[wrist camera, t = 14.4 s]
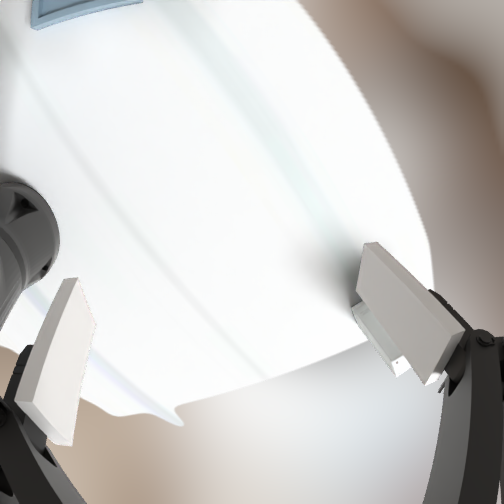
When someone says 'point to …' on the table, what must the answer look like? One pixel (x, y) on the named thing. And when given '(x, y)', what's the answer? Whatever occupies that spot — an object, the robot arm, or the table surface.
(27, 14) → the table surface
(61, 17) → the tray
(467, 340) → the robot arm
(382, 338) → the skincare box
